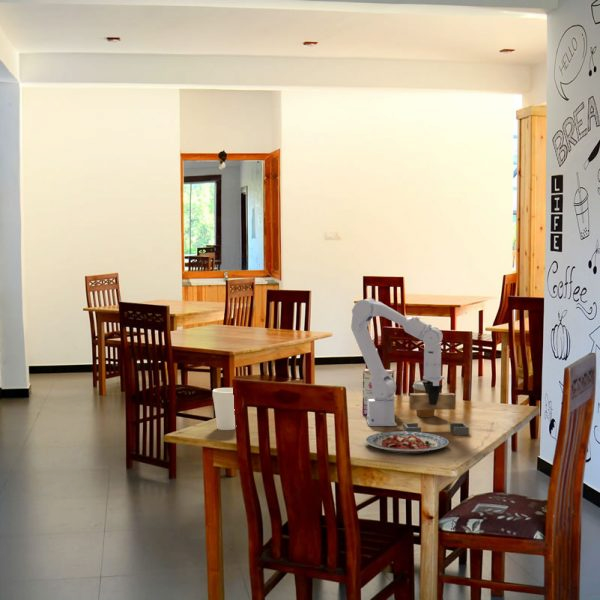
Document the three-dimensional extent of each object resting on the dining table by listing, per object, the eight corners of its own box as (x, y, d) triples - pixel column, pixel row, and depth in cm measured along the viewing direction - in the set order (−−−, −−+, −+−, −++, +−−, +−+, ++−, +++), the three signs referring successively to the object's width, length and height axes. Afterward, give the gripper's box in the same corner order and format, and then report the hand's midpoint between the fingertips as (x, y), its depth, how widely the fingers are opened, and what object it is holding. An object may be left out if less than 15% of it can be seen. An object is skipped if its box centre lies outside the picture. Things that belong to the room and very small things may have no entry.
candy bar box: (362, 415, 335) (362, 370, 334) (363, 412, 340) (364, 368, 339) (393, 416, 333) (393, 371, 332) (394, 413, 338) (394, 369, 337)
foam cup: (215, 424, 318) (215, 387, 317) (241, 425, 318) (241, 388, 317) (211, 430, 309) (210, 392, 308) (238, 431, 308) (238, 392, 307)
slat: (411, 409, 311) (411, 395, 311) (409, 407, 315) (409, 393, 315) (455, 409, 312) (455, 394, 312) (453, 407, 315) (453, 393, 315)
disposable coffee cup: (437, 413, 340) (438, 380, 339) (439, 418, 330) (439, 385, 329) (411, 412, 341) (412, 380, 340) (412, 417, 331) (412, 384, 330)
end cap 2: (454, 435, 303) (454, 427, 303) (449, 430, 310) (450, 423, 310) (468, 435, 303) (468, 427, 303) (464, 430, 310) (464, 422, 310)
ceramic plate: (354, 453, 279) (355, 443, 279) (377, 435, 304) (377, 426, 303) (439, 460, 271) (439, 450, 270) (455, 441, 295) (455, 432, 294)
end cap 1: (406, 435, 303) (406, 427, 302) (403, 430, 310) (403, 423, 310) (420, 435, 303) (421, 427, 302) (417, 430, 310) (417, 423, 310)
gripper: (448, 366, 305) (447, 407, 306) (440, 360, 320) (439, 399, 321) (427, 367, 305) (426, 407, 306) (419, 360, 319) (419, 399, 320)
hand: (432, 403), depth 313 cm, fingers closed on slat, 3 cm apart
